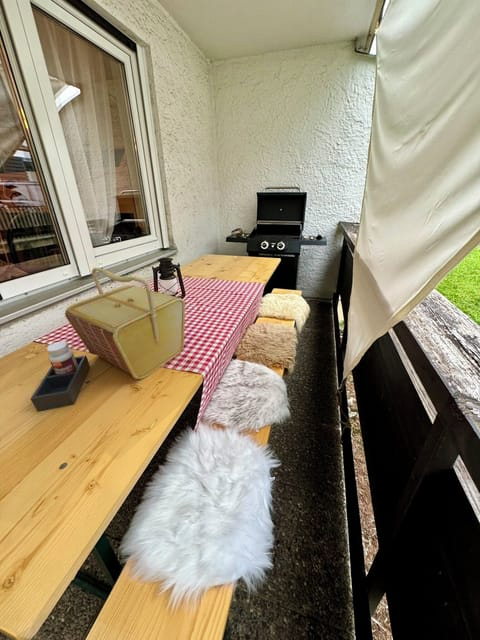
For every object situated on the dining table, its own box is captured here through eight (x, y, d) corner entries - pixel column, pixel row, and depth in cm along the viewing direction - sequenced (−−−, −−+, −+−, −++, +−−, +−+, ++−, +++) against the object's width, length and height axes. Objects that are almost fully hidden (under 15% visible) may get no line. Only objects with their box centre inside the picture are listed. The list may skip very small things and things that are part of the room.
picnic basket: (194, 348, 93) (182, 267, 79) (133, 392, 75) (103, 296, 60) (143, 328, 108) (125, 256, 94) (81, 360, 89) (47, 277, 75)
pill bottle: (58, 385, 77) (43, 354, 72) (59, 374, 82) (44, 344, 77) (81, 377, 80) (68, 347, 75) (80, 367, 85) (68, 338, 79)
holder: (37, 411, 70) (30, 399, 67) (60, 371, 85) (55, 360, 82) (74, 404, 71) (68, 392, 69) (90, 366, 86) (85, 355, 84)
